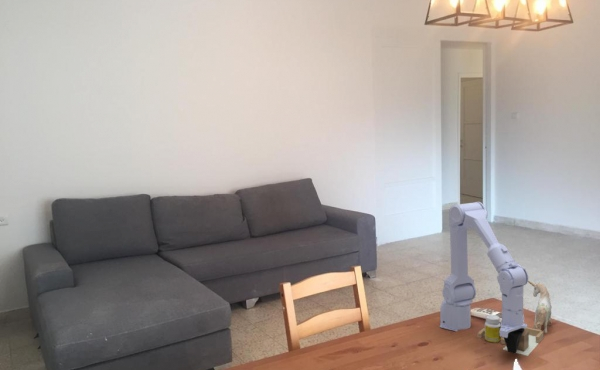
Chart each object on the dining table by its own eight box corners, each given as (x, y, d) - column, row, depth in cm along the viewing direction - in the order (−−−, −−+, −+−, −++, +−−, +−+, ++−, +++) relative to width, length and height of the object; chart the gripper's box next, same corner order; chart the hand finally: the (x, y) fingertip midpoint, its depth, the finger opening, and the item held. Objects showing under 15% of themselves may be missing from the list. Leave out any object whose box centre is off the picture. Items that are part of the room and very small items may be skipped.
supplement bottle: (502, 346, 154) (502, 320, 153) (486, 345, 155) (486, 319, 154) (499, 339, 159) (499, 314, 158) (483, 338, 160) (483, 313, 159)
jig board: (473, 344, 156) (473, 335, 156) (492, 326, 168) (492, 318, 168) (527, 358, 145) (527, 349, 145) (544, 339, 157) (544, 330, 157)
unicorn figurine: (546, 316, 175) (547, 279, 173) (561, 340, 156) (561, 299, 154) (524, 315, 176) (525, 278, 175) (536, 339, 158) (536, 298, 156)
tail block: (510, 348, 150) (510, 332, 150) (515, 343, 153) (515, 327, 153) (524, 351, 148) (524, 335, 147) (528, 346, 151) (528, 331, 150)
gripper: (517, 319, 136) (517, 365, 138) (535, 303, 147) (534, 346, 149) (492, 313, 141) (492, 358, 143) (510, 298, 152) (510, 340, 153)
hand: (512, 351), depth 146 cm, fingers closed
